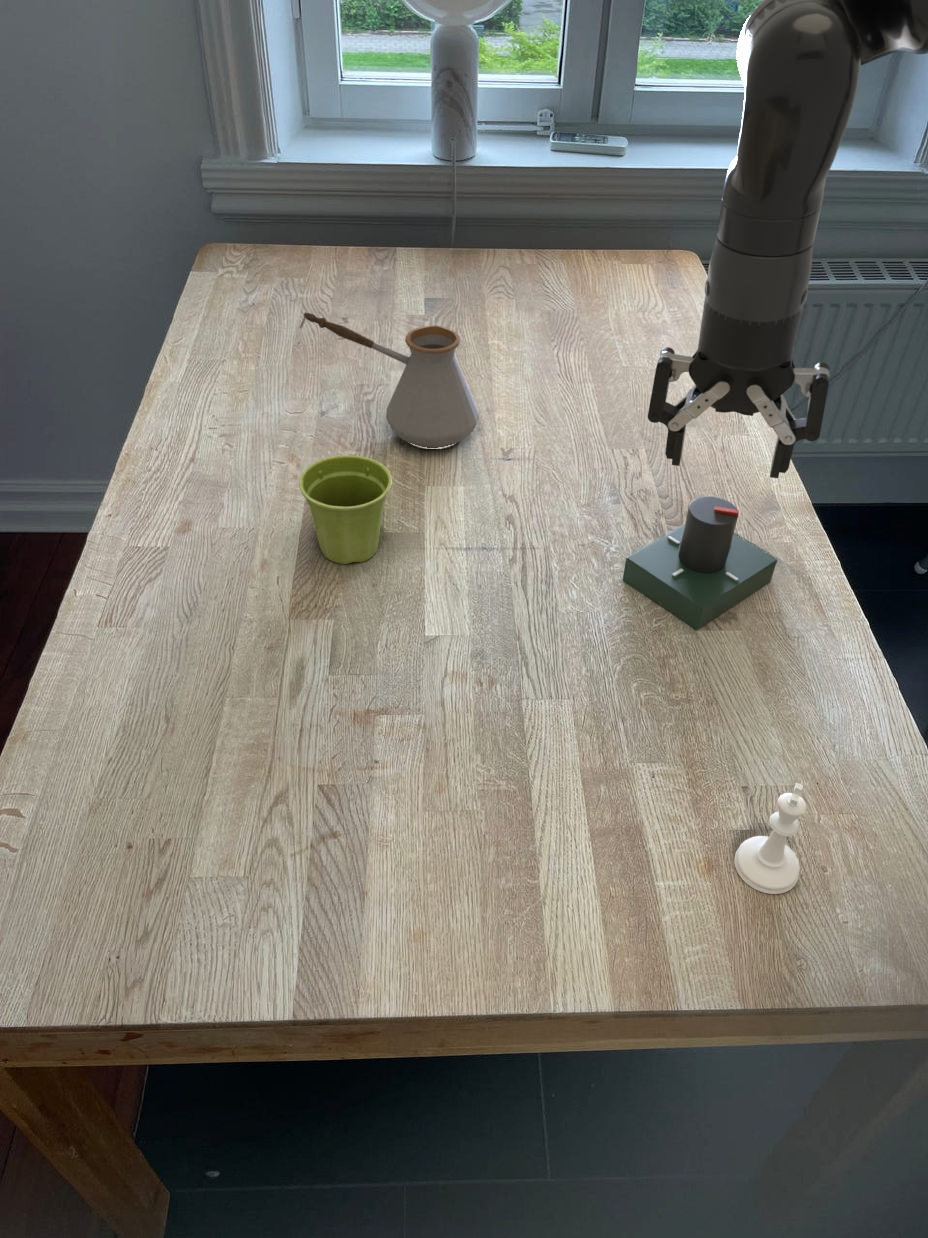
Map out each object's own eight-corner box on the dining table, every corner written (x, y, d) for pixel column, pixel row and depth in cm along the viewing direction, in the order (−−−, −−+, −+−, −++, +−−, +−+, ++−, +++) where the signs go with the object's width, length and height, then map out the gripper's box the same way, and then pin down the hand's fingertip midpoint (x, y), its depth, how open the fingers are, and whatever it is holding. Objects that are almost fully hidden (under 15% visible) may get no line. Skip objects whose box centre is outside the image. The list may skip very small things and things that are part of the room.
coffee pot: (482, 413, 125) (486, 302, 115) (474, 462, 117) (478, 346, 107) (319, 402, 127) (309, 290, 117) (299, 449, 118) (287, 333, 108)
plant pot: (410, 538, 106) (409, 470, 100) (363, 586, 99) (359, 517, 94) (338, 512, 109) (333, 445, 103) (288, 558, 103) (280, 489, 97)
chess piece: (803, 854, 77) (840, 774, 70) (792, 904, 73) (828, 825, 67) (742, 831, 78) (771, 750, 71) (727, 879, 75) (757, 799, 68)
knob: (676, 568, 98) (688, 518, 94) (680, 540, 101) (691, 490, 97) (725, 576, 97) (738, 525, 93) (726, 547, 101) (739, 497, 97)
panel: (696, 536, 107) (701, 513, 105) (770, 582, 102) (778, 558, 99) (622, 579, 101) (626, 556, 99) (696, 630, 96) (703, 606, 94)
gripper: (851, 281, 76) (809, 453, 88) (668, 265, 79) (650, 433, 91) (850, 326, 71) (805, 503, 82) (655, 308, 74) (638, 480, 86)
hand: (724, 466), depth 87 cm, fingers open, 8 cm apart
